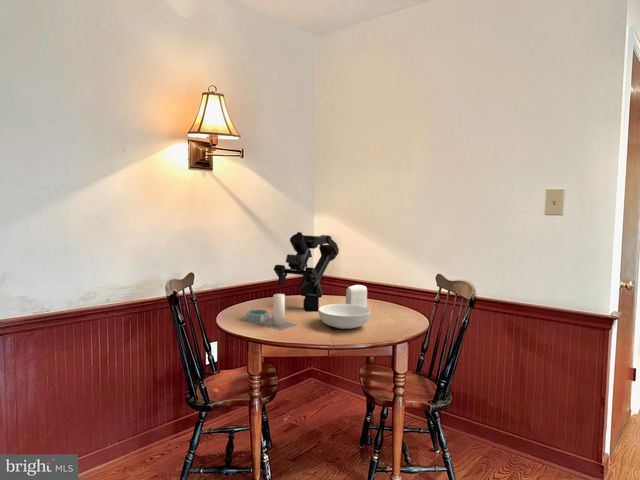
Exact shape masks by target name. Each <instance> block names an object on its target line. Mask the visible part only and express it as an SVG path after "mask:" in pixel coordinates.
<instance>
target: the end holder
mask: <svg viewBox="0 0 640 480" xmlns="http://www.w3.org/2000/svg"><path fill="white" fill-rule="evenodd" d="M261 316H264V321H267V320H268V317H269V311H268V310H265V309H250V310H248V311H246V317H247V320H248V321H250V322H249V323H251V322H261Z"/></svg>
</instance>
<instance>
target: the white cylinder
mask: <svg viewBox="0 0 640 480" xmlns="http://www.w3.org/2000/svg"><path fill="white" fill-rule="evenodd" d="M272 296H273V298H272V299H273V302H272V303H273V304H272V305H273V306H272V308H273V309H272V310H273V311H272V313H273V325H274V326H284V325H285V322H286V321H285V320H286V319H285V318H286V316H285V315H286V294H284V293H274V294H273V295H272Z"/></svg>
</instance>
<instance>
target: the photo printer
mask: <svg viewBox="0 0 640 480" xmlns="http://www.w3.org/2000/svg"><path fill="white" fill-rule="evenodd" d="M367 298H368V288H367V286H365V285H362V284H354V285H351V286H348V287H347V288H346V290H345V304H352V305H358V306H363V307H366V308H367V307H368V306H367V303H368V299H367Z"/></svg>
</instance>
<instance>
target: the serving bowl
mask: <svg viewBox="0 0 640 480" xmlns="http://www.w3.org/2000/svg"><path fill="white" fill-rule="evenodd" d="M317 312H318V316H319V318H320V320H321V321H322V322H323V323H324V324H325V325H327V326H329V327H332V328H336V329H341V330H351V329H354V328H355V329H356V328H359V327H362V326H363V325H365V324H366V323H367V322H368V321H369V319H370V317H371V310H370V308H368V307H367V306H366V307H363V306H358V305H352V304H346V303H332V304H331V303H330V304H325V305H321V306H319V309H318V311H317Z"/></svg>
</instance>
